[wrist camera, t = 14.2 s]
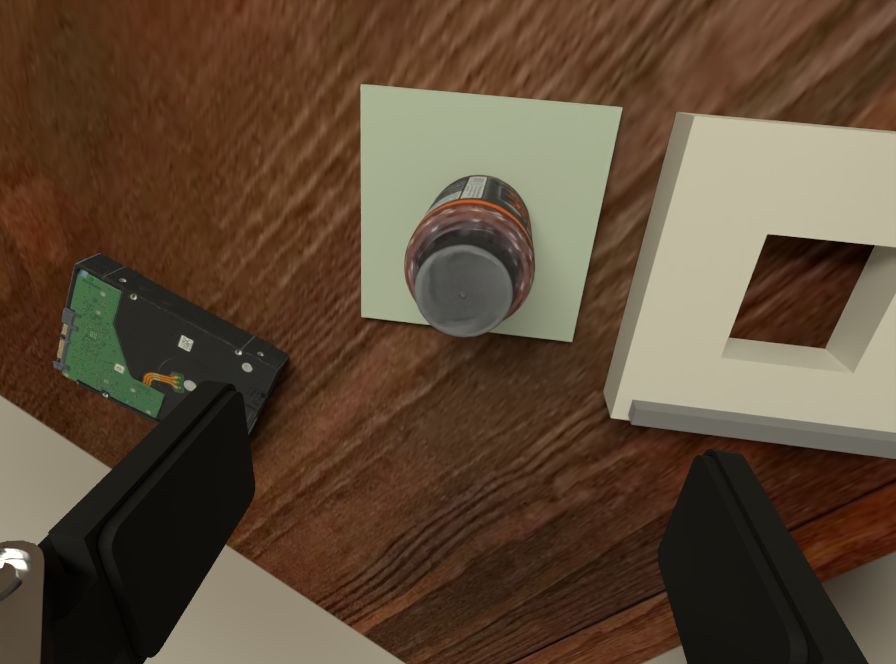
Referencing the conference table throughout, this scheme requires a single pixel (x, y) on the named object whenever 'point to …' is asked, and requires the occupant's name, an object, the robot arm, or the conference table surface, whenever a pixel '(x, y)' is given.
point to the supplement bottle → (471, 257)
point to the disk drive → (155, 344)
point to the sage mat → (493, 154)
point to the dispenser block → (727, 277)
